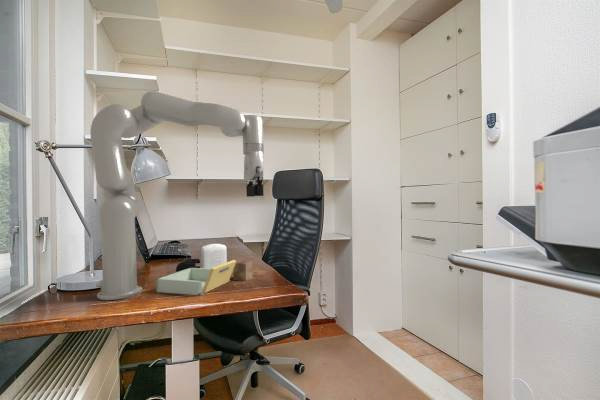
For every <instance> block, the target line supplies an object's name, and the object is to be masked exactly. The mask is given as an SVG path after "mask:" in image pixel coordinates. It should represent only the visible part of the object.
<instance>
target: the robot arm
mask: <svg viewBox="0 0 600 400" xmlns="http://www.w3.org/2000/svg"><path fill="white" fill-rule="evenodd" d="M263 121H264V119H263V118H262V117H261V116H259V115H255V114H249V115H245V116H244V114H243V112H241V111H240V110H237V109H236V108H232V107H229V106H225V105H222V104H218V103H211V102H202V101H201V102H200V101H199V102H198V101H192V100H189V99H184V98H181V97H177V96H174V95H170V94H165V93H162V92H159V91H154V90H150V91H147V92H145V93H144V94H143V95H142V96H141V100H140V105H139V106H137V107H135V108H133V109H130V108H129V107H127V106H126V105H123V104H120V103H118V104H117V103H114V104H110V105H107V106H105V107H104V108H102V109H100V110H99V111H98V112H97V113H96V114H95V116H94V117H93V119H92V121H91V125H90V143H91V149H92V157H93V163H94V170H95V171H94V172H95V179H96V183H97V185H98V186H99V187H100V188H101V189H102V190H103V194H104V198H105V200H104V201H103V202H102V203H101V204H100V207H99V214H98V217H99V225H100V236H101V237H100V238H101V239H100V241H101V264H102V265H101V267H102V272H101V273H102V279H101V280H100V281H99V282H97V283H96V284H95V286H96V288H100V291H99V292H98V293H97V294H96V296H97V297H96V298H97V299H98V300H101V301H102V300H103V301H112V300H116V301H117V300H121V299H127V298H132V297H134V296H136V295H139V294H141V293H142V292H143V287H142V286H139V285H138V278H137V273H138V272H137V271H138V270H137V240H136V221H135V218H136V217H137V215H138V212H139V208H138V207H139V206H138V200H137V193H136V189H135V181H134V177H133V175H132V172H131V171H130V170H129V169H128V168H127V164H126V159H125V158H126V157H125V154H124V153H125V152H124V147H123V142H122V138H123V139H131V138H134V137H136V136H139V135H140V134H143V133H144V132H147V131H149V130H150V129H153V128H155V127H157V126H158V125H160V124H162V123H164V122H170V123H175V124H178V125H181V126H186V127H197V126H203V125H204V126H212V127H217V128H220V132H221V133H222V134H223V135H224V136H225V137H228V138H229V137H230V138H235V137H242V154H243V155H244V157H243V159H244V160H243V180H244V181H245V182H246V183H245V185H246V186H245V187H246V197H249V198H251V197H264V160H263V154H264V122H263Z"/></svg>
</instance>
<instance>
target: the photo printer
mask: <svg viewBox="0 0 600 400" xmlns="http://www.w3.org/2000/svg"><path fill="white" fill-rule="evenodd" d="M227 251H228V250H227V246H226V245H225V244H222V243H210V244H206V245H203V246H202V247H201V248H200V268H205V269H211V268H213V267H216V266H218V265H221V264H224V263H227V262H228V258H227V257H228V253H227Z"/></svg>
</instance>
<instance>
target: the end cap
mask: <svg viewBox="0 0 600 400" xmlns="http://www.w3.org/2000/svg"><path fill="white" fill-rule="evenodd" d="M196 264H201V258H191V257H187V258H184V259H183V260H182V261H180V262H179V263H178V264H177V265H176V267H175V273H176V272H179V271H182V270H185V269H188V268H201V265H200V266H199V265H198V266H196Z"/></svg>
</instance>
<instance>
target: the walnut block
mask: <svg viewBox="0 0 600 400" xmlns="http://www.w3.org/2000/svg"><path fill="white" fill-rule="evenodd" d="M232 274H233V281H243V282H244V281H248V280H250V279H253V260H238V261H236V264H235V266H234V269H233V272H232Z"/></svg>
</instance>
